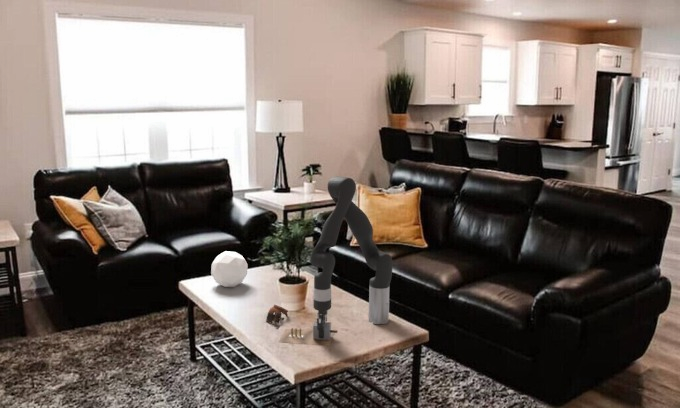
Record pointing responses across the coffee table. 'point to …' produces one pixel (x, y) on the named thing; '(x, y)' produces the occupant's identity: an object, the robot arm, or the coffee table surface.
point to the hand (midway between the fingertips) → (322, 335)
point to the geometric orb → (229, 269)
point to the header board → (303, 337)
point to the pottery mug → (277, 315)
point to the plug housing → (326, 331)
